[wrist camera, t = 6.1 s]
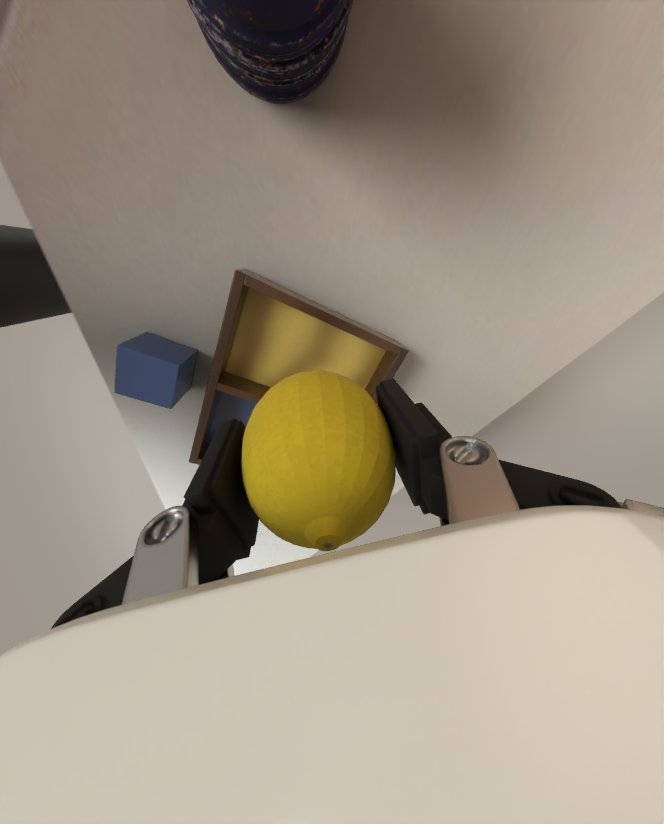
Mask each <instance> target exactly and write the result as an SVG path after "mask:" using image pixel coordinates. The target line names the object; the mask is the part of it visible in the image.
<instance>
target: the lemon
mask: <svg viewBox="0 0 664 824" xmlns="http://www.w3.org/2000/svg"><path fill="white" fill-rule="evenodd" d="M241 468H242V478H243V483H244V487H245V490H246V494H247V497H248V500H249V503H250V506H251V507H252V509H253V510H254V512H255V514H256V515H257V516H258V518H259V519H260V521H261V522H262V523H263V524H264V525H265V526H266V527H267V528H268V529H269V530H270V531H272V532H273V533H274V534H275V535H277V536H278V537H280V538H282V539H283V540H285V541H288V542H290V543H292V544H294V545H298V546H302V547H306V548H313V549H319V550H322V551H331V550H334V549H336V548H338V547H339V546H341V545H343V544H346V543H348V542H350V541H352V540H354V539H355V538H357V537H359V536H360V535H362V534H363V533H365V532H366V531H367V530H368V529H369V528H370V527H371V526H372V525H373V524H374V523H375V522H376V521H377V520H378V519H379V517H380V515H381V514H382V512H383V511H384V509H385V507H386V506H387V504H388V502H389V499H390V496H391V493H392V490H393V486H394V483H395V450H394V444H393V439H392V436H391V433H390V430H389V427H388V424H387V422H386V419H385V417H384V414H383V412H382V411H381V409H380V407H379V406H378V405H377V404H376V402H375V401H374V400H373V399H372V397H371V396H370V395H369V394H368V392H367V391H366V390H364V389H363V388H362V387H361V386H359V385H358V384H356V383H355V382H354V381H352V380H351V379H349V378H347V377H344V376H342V375H339V374H336V373H334V372H327V371H318V370H315V371H307V372H300V373H297V374H294V375H292V376H289V377H286V378H284V379H283V380H281V381H280V382H278V383H277V384H276V385H274V386H273V387H271V388H270V389H269V390H268V391H267V392H266V394H265V395H264V396H263V397H262V398H261V400H260V401H259V402H258V403H257V405H256V406H255V408H254V409H253V412H252V414H251V416H250V419H249V421H248V424H247V426H246V429H245V432H244V436H243V444H242V459H241Z"/></svg>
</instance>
